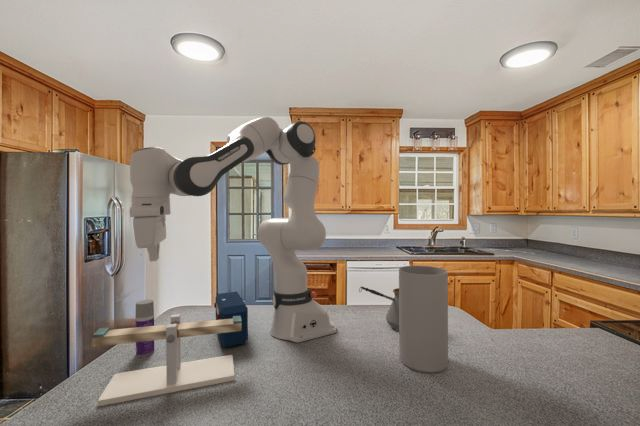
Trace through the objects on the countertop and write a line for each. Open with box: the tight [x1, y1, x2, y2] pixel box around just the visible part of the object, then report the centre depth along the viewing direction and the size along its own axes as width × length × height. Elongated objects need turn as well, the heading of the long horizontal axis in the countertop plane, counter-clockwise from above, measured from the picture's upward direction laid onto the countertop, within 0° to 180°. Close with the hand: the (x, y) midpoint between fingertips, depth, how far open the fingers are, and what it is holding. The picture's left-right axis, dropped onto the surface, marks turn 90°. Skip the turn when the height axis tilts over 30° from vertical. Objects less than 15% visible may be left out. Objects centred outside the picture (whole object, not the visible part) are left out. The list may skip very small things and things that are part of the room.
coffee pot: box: [358, 286, 399, 331], centre depth 102 cm, size 21×12×15 cm, turn 98°
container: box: [134, 299, 155, 358], centre depth 85 cm, size 5×5×15 cm
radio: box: [213, 291, 249, 348], centre depth 97 cm, size 21×9×20 cm, turn 24°
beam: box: [91, 316, 242, 348], centre depth 72 cm, size 32×4×3 cm, turn 109°
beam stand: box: [97, 313, 236, 407], centre depth 72 cm, size 28×11×15 cm, turn 109°
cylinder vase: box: [398, 265, 449, 374], centre depth 79 cm, size 12×12×25 cm
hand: (154, 260), depth 78 cm, fingers closed
